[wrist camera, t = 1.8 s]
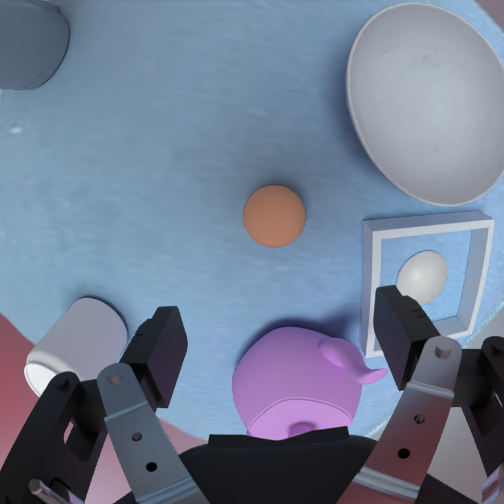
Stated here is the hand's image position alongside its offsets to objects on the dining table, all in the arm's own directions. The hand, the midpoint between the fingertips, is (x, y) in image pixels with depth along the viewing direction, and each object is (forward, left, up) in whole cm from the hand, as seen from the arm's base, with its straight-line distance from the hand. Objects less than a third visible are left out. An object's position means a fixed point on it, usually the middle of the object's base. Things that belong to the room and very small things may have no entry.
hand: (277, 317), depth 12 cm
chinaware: (-9, +13, -16) cm, 23 cm away
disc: (+9, +15, -16) cm, 24 cm away
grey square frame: (+9, +15, -16) cm, 24 cm away
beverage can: (+11, -22, -16) cm, 29 cm away
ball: (0, 0, -16) cm, 16 cm away
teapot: (+18, +1, -16) cm, 24 cm away
